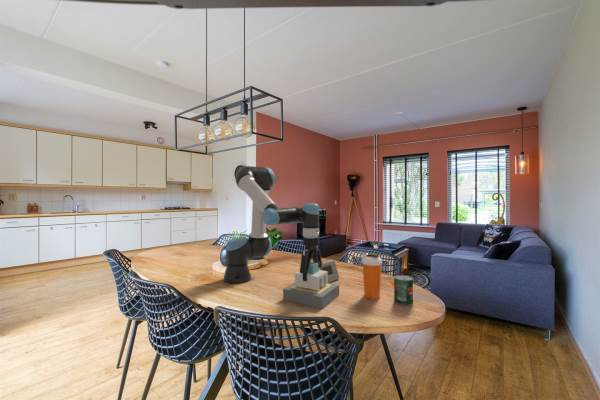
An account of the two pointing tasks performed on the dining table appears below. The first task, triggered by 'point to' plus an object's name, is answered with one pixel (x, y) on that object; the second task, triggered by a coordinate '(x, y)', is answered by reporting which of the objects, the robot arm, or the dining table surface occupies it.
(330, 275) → the digital clock
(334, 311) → the dining table surface
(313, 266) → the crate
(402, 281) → the canned tomato
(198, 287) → the dining table surface
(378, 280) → the shaker bottle
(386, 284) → the dining table surface
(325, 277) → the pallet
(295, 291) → the dock
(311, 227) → the robot arm
